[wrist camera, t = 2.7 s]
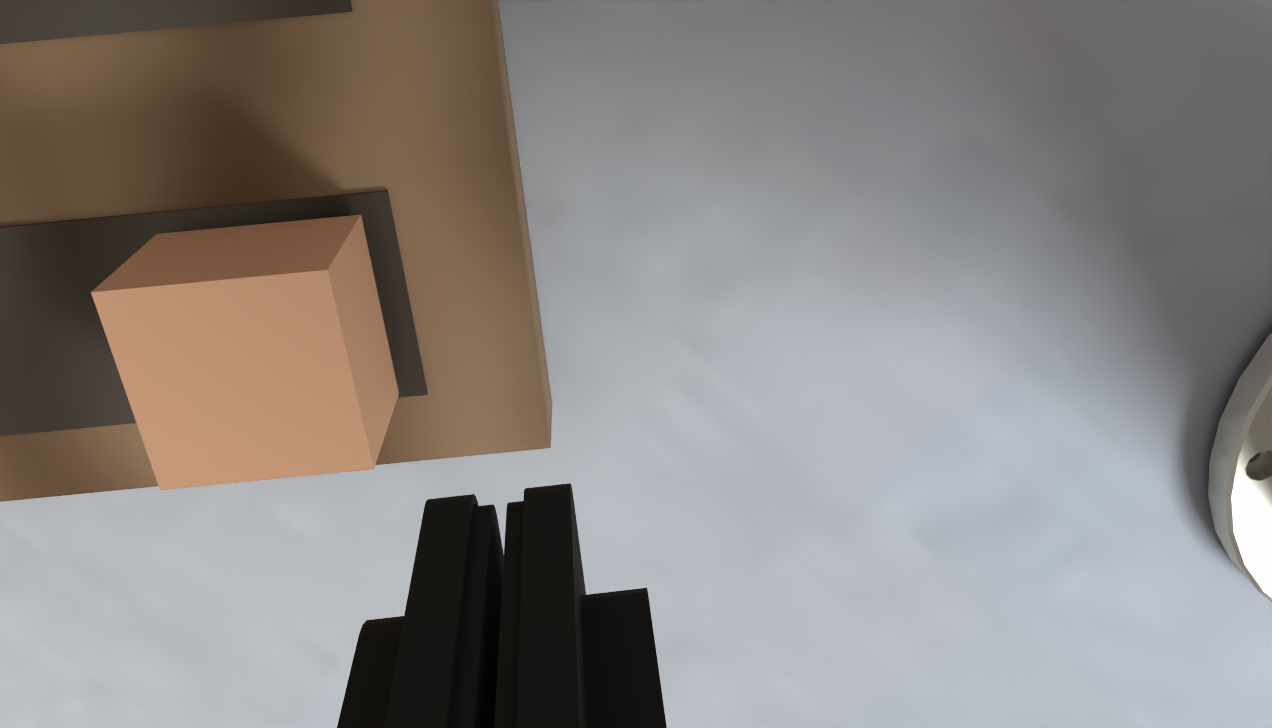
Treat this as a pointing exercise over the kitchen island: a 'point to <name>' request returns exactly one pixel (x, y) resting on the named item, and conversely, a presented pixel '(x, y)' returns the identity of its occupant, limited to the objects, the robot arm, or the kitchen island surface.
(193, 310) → the tab
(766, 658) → the kitchen island surface
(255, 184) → the switch board
